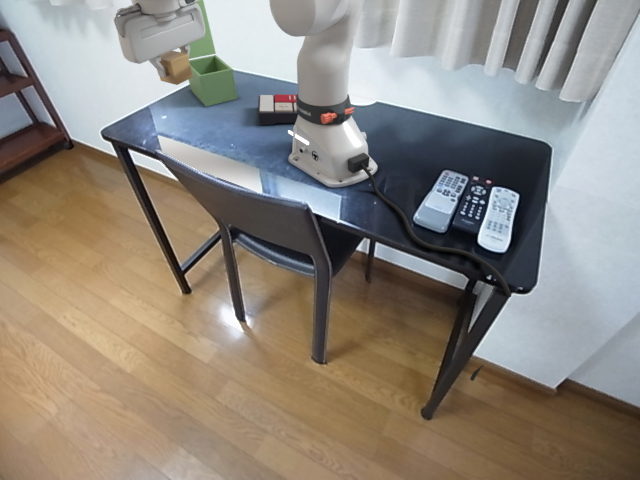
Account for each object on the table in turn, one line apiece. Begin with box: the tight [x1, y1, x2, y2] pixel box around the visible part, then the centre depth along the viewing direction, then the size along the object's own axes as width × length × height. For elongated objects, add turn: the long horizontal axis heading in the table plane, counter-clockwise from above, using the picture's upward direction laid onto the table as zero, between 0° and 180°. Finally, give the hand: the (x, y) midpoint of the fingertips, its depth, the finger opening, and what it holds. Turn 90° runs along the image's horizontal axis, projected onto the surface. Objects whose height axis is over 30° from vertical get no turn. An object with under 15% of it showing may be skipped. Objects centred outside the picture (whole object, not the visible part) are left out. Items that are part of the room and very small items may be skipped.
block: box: [159, 50, 193, 86], centre depth 82 cm, size 5×5×5 cm
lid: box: [179, 0, 217, 60], centre depth 110 cm, size 14×10×1 cm
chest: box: [187, 54, 238, 107], centre depth 113 cm, size 14×10×9 cm
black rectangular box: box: [257, 94, 298, 126], centre depth 105 cm, size 11×4×15 cm
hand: (175, 71), depth 83 cm, fingers closed on block, 5 cm apart
